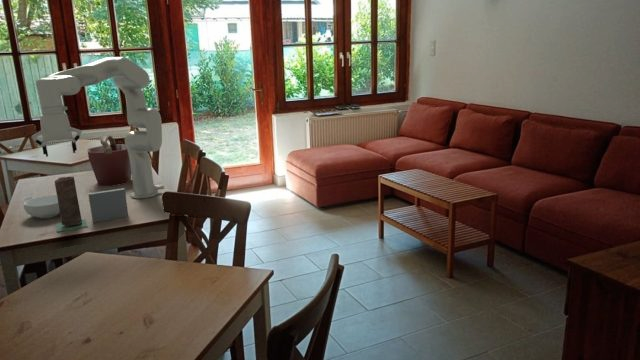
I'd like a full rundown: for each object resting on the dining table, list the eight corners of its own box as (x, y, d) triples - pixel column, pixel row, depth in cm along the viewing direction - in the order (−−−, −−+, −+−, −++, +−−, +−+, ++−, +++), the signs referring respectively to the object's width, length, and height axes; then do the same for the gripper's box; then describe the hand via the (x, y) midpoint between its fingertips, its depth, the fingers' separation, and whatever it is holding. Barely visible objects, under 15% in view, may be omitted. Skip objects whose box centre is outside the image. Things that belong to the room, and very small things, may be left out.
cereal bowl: (78, 212, 221) (75, 196, 219) (44, 224, 206) (41, 208, 205) (51, 207, 228) (49, 193, 226) (17, 219, 213) (14, 203, 212)
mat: (85, 220, 210) (85, 219, 210) (87, 227, 201) (87, 226, 201) (56, 225, 205) (55, 224, 205) (57, 232, 196) (57, 231, 196)
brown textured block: (73, 228, 199) (65, 180, 194) (57, 227, 200) (49, 179, 195) (86, 222, 206) (78, 175, 201) (70, 221, 208) (62, 174, 202)
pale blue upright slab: (127, 214, 215) (124, 188, 212) (128, 216, 213) (124, 189, 210) (92, 220, 208) (88, 193, 205) (93, 222, 207) (88, 194, 204)
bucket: (124, 187, 257) (117, 140, 251) (81, 188, 258) (74, 141, 251) (141, 175, 281) (135, 132, 274) (102, 176, 281) (95, 132, 275)
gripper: (76, 107, 198) (83, 149, 203) (26, 111, 190) (35, 155, 195) (78, 109, 192) (85, 152, 197) (26, 114, 184) (35, 159, 189)
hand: (60, 154), depth 196 cm, fingers open, 9 cm apart
